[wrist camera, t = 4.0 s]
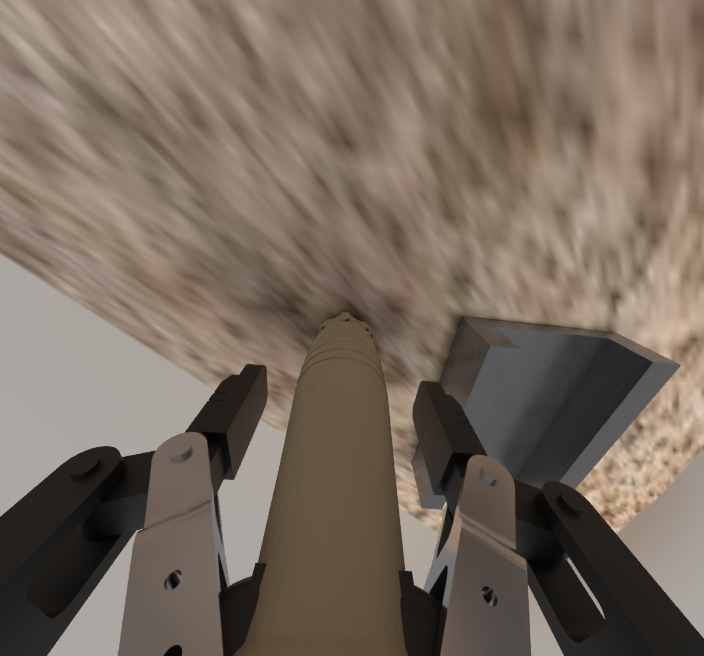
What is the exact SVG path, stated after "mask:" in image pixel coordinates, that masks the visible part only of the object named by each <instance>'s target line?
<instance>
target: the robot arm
mask: <svg viewBox="0 0 704 656" xmlns="http://www.w3.org/2000/svg"><path fill="white" fill-rule="evenodd" d="M267 394H268V392H267V371H266V366H265V365H254V364H247V365H246V366H245V367H244V369H243V370H242V372H241V373H240V375H231V376H230V377H228V378H227V379H225V380H224V381H222V382H221V383H220V385H219V386H218V388H217V389H216V390H215V393H213V395H212V396H211V397H210V399H209V401H207V403H206V404H205V405H204V407H203V408H202V410H201V411H200V412H199V414H198V415H197V417H196V418H195V419H194V421H193V422H192V423H191V425H190V426H189V428H188V429H187V430H186V432H185V433H182V434H179V435H176V436H174V437H172V438H170V439H168V440H167V441H165V442H164V443H163V444H162V445H161V446H159V448H158V449H157V450H156V451H151V452H146V453H141V454H136V455H131V456H126V457H121V454H120V452H119V450H117V449H116V448H114V447H110V446H102V447H96V448H92V449H89V450H87V451H84V452H82V453H79V454H77V455H76V456H74V457H72V458H70V459H69V460H67V461H66V462H65V463H63V464H62V465H61V466H60V467H58V468H57V469H56V470H55V471H54V472H53V473H51V474H50V475H49V476H48V477H47V478H45V479H44V480H43V481H42V482H41V483H40V484H38V485H37V486H36V487H35V488H34V489H32V490H31V491H30V492H29V493H28V494H27V495H25V496H24V497H23V498H22V499H21V500H20V501H18V503H16V504H15V505H14V506H13V507H11V508H10V509H9V510H8V511H7V512H5V513H4V514H3V515H2V516H1V517H0V656H47V655H48V654H49V652H50V651H51V649H52V648H53V647H54V645H55V644H56V642H57V641H58V640H59V638H60V636H61V635H62V634H63V633H64V631H65V630H66V628H67V627H68V625H69V624H70V623H71V621H72V620H73V618H74V617H75V616H76V614H77V613H78V611H79V610H80V609H81V607H82V606H83V604H84V603H85V601H86V600H87V599H88V597H89V596H90V595H91V593H92V592H93V590H94V589H95V588H96V586H97V585H98V583H99V582H100V580H101V579H102V578H103V576H104V575H105V574H106V572H107V571H108V569H109V568H110V566H111V565H112V564H113V562H114V561H115V559H116V558H117V556H118V555H119V554H120V552H121V551H122V550H123V548H124V547H125V545H126V544H127V542H128V541H129V540H130V538H131V537H132V536H133V534H134V533H135V531H136V530H140V529H143V530H141V531H139V532H138V533H137V534H136V537H135V540H134V544H133V550H132V558H131V565H130V572H129V579H128V586H127V594H126V601H125V608H124V615H123V622H122V630H121V637H120V644H119V651H118V656H233V655H234V654H235V653H236V652H237V651H238V650H239V649H240V648H241V646H242V645H243V644H244V643H245V641H246V638H247V635H248V632H249V629H250V625H251V622H252V619H253V616H254V612H255V609H256V606H257V602H258V598H259V593H260V591H259V587H260V584H261V581H262V578H263V575H264V572H265V568H266V565H267V563H255V567H254V571H253V574H252V576H251V577H247V578H244V579H242V580H240V581H238V582H236V583H234V584H232V585H229V578H228V570H227V563H226V557H225V550H224V541H223V533H222V524H221V514H220V505H219V496H218V490H219V488H220V486H221V484H222V482H223V479H228V480H234V478H235V476H236V474H237V471H238V469H239V467H240V465H241V462H242V460H243V457H244V455H245V453H246V450H247V448H248V446H249V443H250V441H251V439H252V436H253V434H254V432H255V429H256V427H257V425H258V422H259V420H260V418H261V415H262V413H263V411H264V408H265V406H266V402H267ZM413 421H414V425H415V429H416V432H417V436H418V439H419V443H420V447H421V450H422V454H423V457H424V461H425V465H426V468H427V472H428V475H429V479H430V483H431V486H432V490H433V493H434V495H441V496H445V499H446V502H447V505H446V507H445V510H444V514H443V518H442V523H441V527H440V531H439V536H438V540H437V544H436V549H435V553H434V558H433V561H432V565H431V568H430V571H429V574H428V576H427V580H426V583H425V586H424V589H423V590H422V589H421V588H419V587H417V586H415V585H414V582H413V576H412V571H398V573H399V581H400V588H401V596H402V598H400V606H401V618H402V626H403V634H404V642H405V649H406V651H407V654H408V656H531V643H530V621H529V601H528V585H529V587H530V589H531V590H532V592H533V595H534V597H535V598H536V600H537V602H538V605H539V607H540V609H541V610H542V612H543V615H544V616H545V619H546V620H547V623H548V625H549V627H550V629H551V631H552V633H553V635H554V637H555V639H556V640H557V642H558V645H559V647H560V649H561V651H562V653H563V654H564V656H704V638H703V637H702V636H701V635H700V634H699V632H698V631H697V630H696V629H695V628H694V627H693V625H692V624H691V623H690V622H689V620H688V619H687V618H686V617H685V616H684V615H683V613H682V612H681V611H680V610H679V609H678V607H677V606H676V605H675V604H674V603H673V602H672V600H671V599H670V598H669V597H668V595H667V594H666V593H665V592H664V591H663V589H662V588H661V587H660V586H659V585H658V583H657V582H656V581H655V580H654V579H653V578H652V576H651V575H650V574H649V573H648V572H647V570H646V569H645V568H644V567H643V566H642V564H641V563H640V562H639V561H638V560H637V558H636V557H635V556H634V555H633V554H632V553H631V551H630V550H629V549H628V548H627V547H626V546H625V544H624V543H623V542H622V540H621V539H620V538H619V537H618V536H617V534H616V533H615V532H614V531H613V530H612V529H611V527H610V526H609V525H608V524H607V523H606V521H605V520H604V519H603V518H602V517H601V515H600V514H599V513H598V512H597V511H596V509H595V508H594V507H593V506H592V505H591V504H590V502H589V501H588V500H587V499H586V498H585V497H584V496H582V495H581V494H580V493H579V492H577V491H576V490H574V489H573V488H571V487H570V486H568V485H566V484H563V483H561V482H557V481H548V482H546V483H545V484H544V485H543V487H542V488H541V489H540V488H537V487H534V486H531V485H529V484H526V483H523V482H521V481H518V480H515V479H513V478H512V476H511V475H510V473H509V472H508V471H507V469H506V468H505V467H504V466H503V465H501V464H500V463H499V462H497V461H496V460H494V459H492V458H490V457H488V455H487V453H486V451H485V450H484V448H483V446H482V444H481V442H480V440H479V438H478V436H477V435H476V433H475V431H474V429H473V427H472V425H471V424H470V421H469V420H468V418H467V416H465V412H464V410H463V408H462V406H461V405H460V403H459V402H458V401H457V400H456V399H455V398H454V397H453V396H452V395H446V394H445V392H444V390H443V387H442V385H441V384H440V383H439V382H431V381H421V383H420V385H419V389H418V392H417V395H416V399H415V402H414V405H413ZM568 558H570V559H571V560H572V562H573V564H574V565H575V567H576V568H577V570H578V571H579V573H580V575H581V576H582V578H583V579H584V581H585V582H586V584H587V585H588V587H589V588H590V590H591V591H592V593H593V594H594V596H595V598H596V599H597V600H598V602H599V604H600V606H601V608H602V610H603V613H604V617H605V619H604V618H603V616H602V615H601V613H600V611H599V610H598V608H597V607H596V605H595V603H594V602H593V600H592V599H591V597H590V596H589V594H588V592H587V591H586V589H585V588H584V586H583V585H582V583H581V582H580V580H579V578H578V577H577V575H576V574H575V572H574V571H573V569H572V567H571V566H570V564H569V563H568V561H567V559H568Z"/></svg>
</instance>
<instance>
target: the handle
mask: <svg viewBox="0 0 704 656" xmlns="http://www.w3.org/2000/svg"><path fill="white" fill-rule="evenodd" d="M319 332H320V333H319V334H318V335H317V337H316V338H315V340H314V342H313V343H312V345H311V347H310V350H309V352H308V354H307V357H306V359H305V361H304V364H303V367H302V370H301V373H300V376H299V379H298V383H297V386H296V390H295V395H294V399H293V404H292V409H291V414H290V419H289V423H288V428H287V433H286V438H285V443H284V448H283V452H282V457H281V462H280V466H279V471H278V475H277V480H276V484H275V489H274V493H273V497H272V502H271V506H270V511H269V515H268V520H267V524H266V529H265V533H264V537H263V542H262V546H261V551H260V555H259V560H258V563H267V565H266V568H265V572H264V575H263V578H262V581H261V584H260V587H259V591H260V593H259V598H258V602H257V606H256V609H255V612H254V616H253V619H252V622H251V625H250V629H249V632H248V635H247V638H246V641H245V643H244V644H243V645H242V646H241V648H240V649H239V650H238V651H237V652H236V653H235V654H234V655H233V656H408V654H407V651H406V649H405V642H404V634H403V626H402V618H401V606H400V598H402V596H401V588H400V581H399V573H398V571H405V564H404V555H403V545H402V536H401V527H400V517H399V507H398V497H397V487H396V478H395V468H394V458H393V447H392V436H391V426H390V415H389V404H388V395H387V390H386V385H385V379H384V374H383V370H382V366H381V362H380V358H379V355H378V352H377V349H376V346H375V344H374V341H373V339H372V338H373V336H372V333H371V330H370V327H369V326H368V324H367V323H366V322H364V321H362V322H361V321H359V320H357V319H355V318H354V317H352V316H351V315H350V313H349V312H341V313H340V315H339V316H337V317H335V318H333V319H326V320H325V321H324V322H323V323H322V325H321V326H320V328H319Z"/></svg>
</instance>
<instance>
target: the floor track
mask: <svg viewBox="0 0 704 656" xmlns="http://www.w3.org/2000/svg"><path fill="white" fill-rule="evenodd" d="M680 366H681V365H680V364H678V363H676V362H674V361H672V360H670V359H668V358H666V357H664V356H662V355H660V354H658V353H656V352H654V351H652V350H650V349H648V348H646V347H644V346H642V345H639V344H637V343H635V342H633V341H631V340H629V339H627V338H625V337H623V336H621V335H619V334H617V333H613V332H603V331H594V330H585V329H575V328H566V327H557V326H547V325H538V324H529V323H519V322H510V321H501V320H491V319H482V318H473V317H463V316H462V319H461V322H460V325H459V327H458V330H457V333H456V336H455V339H454V342H453V345H452V348H451V351H450V354H449V357H448V360H447V363H446V365H445V368H444V371H443V374H442V377H441V380H440V384H441V385H442V387H443V390H444V392H445V394H446V395H452V396H453V397H454V398H455V399H456V400H457V401H458V402H459V403H460V405H461V406H462V408H463V410H464V412H465V416H467V418H468V420H469V421H470V424H471V425H472V427H473V429H474V431H475V433H476V435H477V436H478V438H479V440H480V442H481V444H482V446H483V448H484V450H485V451H486V453H487V455H488V457H490V458H492V459H494V460H496V461H497V462H499V463H500V464H501V465H503V466H504V467H505V468H506V469H507V471H508V472H509V473H510V475H511V476H512V478H513V479H515V480H518V481H521V482H523V483H526V484H529V485H531V486H534V487H537V488H540V489H541V488H542V487H543V485H544V484H545V483H546V482H548V481H557V482H561V483H563V484H566V485H568V486H570V487H571V488H573V489H574V490H575V489H576V487H577V486H578V485H579V484H580V483H581V482H582V480H583V479H584V478H585V477H586V476H587V475H588V473H589V472H590V471H591V470H592V469H593V468H594V466H595V465H596V464H597V463H598V462H599V461H600V459H601V458H602V457H603V456H604V455H605V454H606V452H607V451H608V450H609V449H610V448H611V447H612V445H613V444H614V443H615V442H616V441H617V440H618V438H619V437H620V436H621V435H622V434H623V432H624V431H625V430H626V429H627V428H628V427H629V425H630V424H631V423H632V422H633V421H634V420H635V418H636V417H637V416H638V415H639V414H640V413H641V411H642V410H643V409H644V408H645V407H646V406H647V404H648V403H649V402H650V401H651V400H652V399H653V397H654V396H655V395H656V394H657V393H658V392H659V390H660V389H661V388H662V387H663V386H664V385H665V383H666V382H667V381H668V380H669V379H670V378H671V376H672V375H673V374H674V373H675V372H676V371H677V369H678V368H679V367H680ZM412 466H413V471H414V475H415V480H416V484H417V488H418V493H419V497H420V502H421V506H422V508H428V509H442V508H443V506H444V504H445V502H446V499H445V496H441V495H434V493H433V490H432V486H431V483H430V479H429V475H428V472H427V468H426V465H425V461H424V457H423V454H422V450H421V447H420V443H419V444H418V447H417V450H416V453H415V456H414V459H413V462H412Z"/></svg>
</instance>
